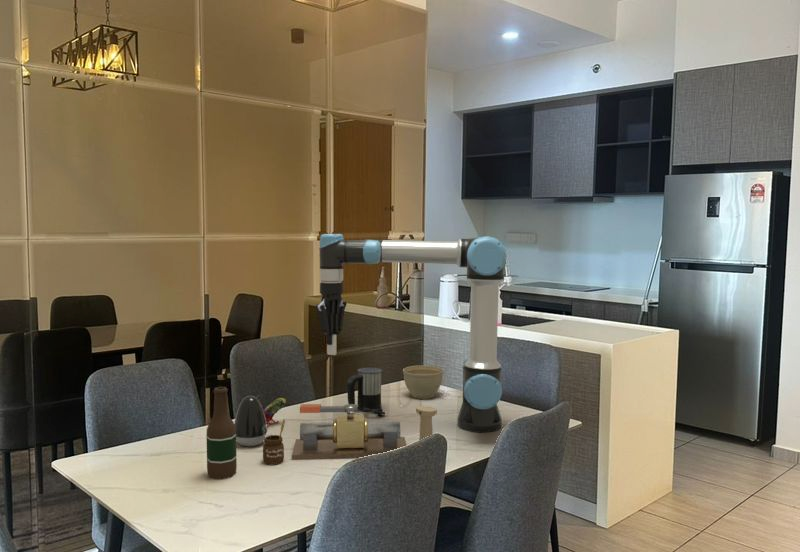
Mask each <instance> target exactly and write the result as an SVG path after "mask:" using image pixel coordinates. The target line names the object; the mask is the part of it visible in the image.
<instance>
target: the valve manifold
mask: <svg viewBox="0 0 800 552" xmlns="http://www.w3.org/2000/svg"><path fill="white" fill-rule="evenodd" d="M354 413H355V412H354ZM354 413H346V414H337V415H336V419H332V422H308V423H307V422H303V423H300V424H299V438H296V439H295V442H294V445H293V448H292V451H291V452H292V453H291V460H292V461H294V460H295V461H296V460H301V461H302V460H335V459H336V460H340V459H360V458H359V457H364V456H368V455H372V454H378V453H383V452H387V451H390V450H394V449H397V448H400V447H403V446H406V445H407V442H406V438H405V436H401V421H369V419H368V418H364V417H365V416H364V413H362V414H354Z"/></svg>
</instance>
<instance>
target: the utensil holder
mask: <svg viewBox="0 0 800 552" xmlns="http://www.w3.org/2000/svg"><path fill="white" fill-rule="evenodd" d="M285 421H286V419H284V418H283V419H282V423H281V426H280V432H279V434H266V435H265V438H264V440H263V443H264V444H263V447H262V461H263V463H264V464H265V463H266V465H269V464H275V465H279V464H282V463H283V462H284V460H285V446H284V443H283V437H282V432H283V430H284V427H285ZM264 426H265V427H267V428H268V427H269V426H266V425H264ZM264 426H263V427H264ZM264 431H265V430H264ZM268 431H269V433H272V430H271V426H270V427H269V428H268V429H267V431H266V432H267V433H268ZM281 462H282V463H281Z"/></svg>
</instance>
